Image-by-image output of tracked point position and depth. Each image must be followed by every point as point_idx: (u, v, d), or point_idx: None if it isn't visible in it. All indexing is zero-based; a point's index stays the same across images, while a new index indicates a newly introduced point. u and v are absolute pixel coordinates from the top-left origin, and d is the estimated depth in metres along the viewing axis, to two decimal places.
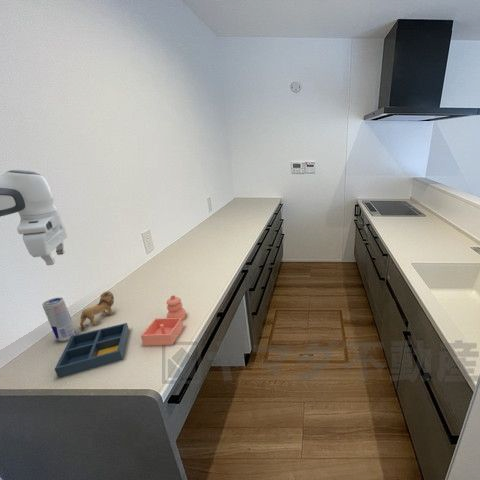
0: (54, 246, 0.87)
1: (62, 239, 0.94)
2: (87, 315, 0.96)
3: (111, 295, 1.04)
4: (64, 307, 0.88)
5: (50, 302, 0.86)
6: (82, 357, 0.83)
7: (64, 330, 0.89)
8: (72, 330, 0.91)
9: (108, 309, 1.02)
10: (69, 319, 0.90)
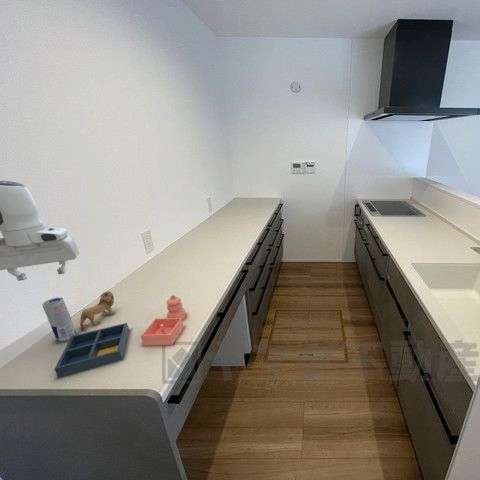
0: None
1: None
2: (87, 315, 0.96)
3: (111, 295, 1.04)
4: (64, 307, 0.88)
5: (50, 302, 0.86)
6: (82, 357, 0.83)
7: (64, 330, 0.89)
8: (72, 330, 0.91)
9: (108, 309, 1.02)
10: (69, 319, 0.90)
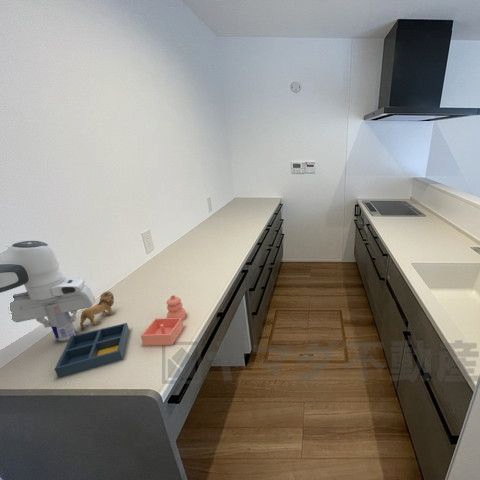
0: None
1: None
2: (87, 315, 0.96)
3: (111, 295, 1.04)
4: None
5: None
6: (82, 357, 0.83)
7: (64, 330, 0.89)
8: (72, 330, 0.91)
9: (108, 309, 1.02)
10: None
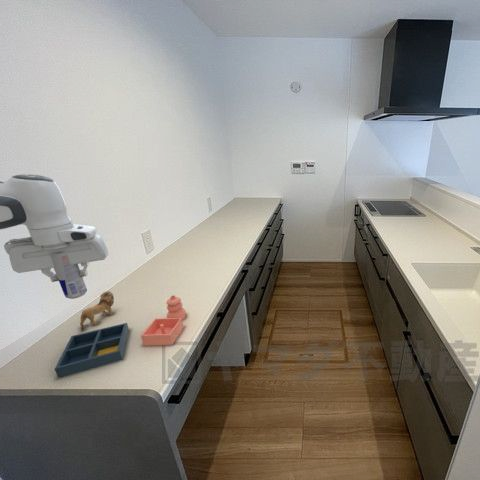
0: None
1: None
2: (87, 315, 0.96)
3: (111, 295, 1.04)
4: None
5: None
6: (82, 357, 0.83)
7: (73, 286, 0.77)
8: (83, 286, 0.79)
9: (108, 309, 1.02)
10: None
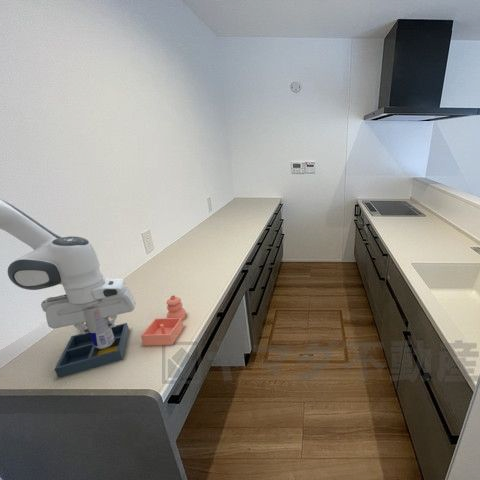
0: None
1: None
2: None
3: None
4: None
5: None
6: (82, 357, 0.83)
7: (103, 337, 0.80)
8: (111, 337, 0.82)
9: None
10: None
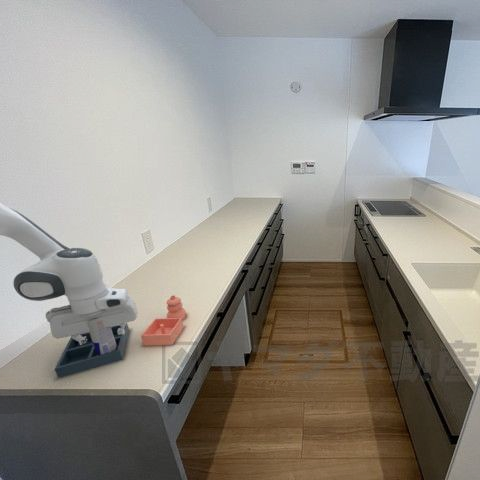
0: None
1: None
2: None
3: None
4: None
5: None
6: (82, 357, 0.83)
7: (106, 347, 0.81)
8: (114, 346, 0.84)
9: None
10: (111, 334, 0.83)
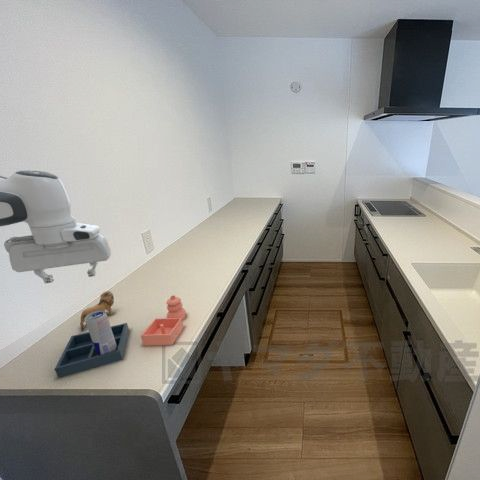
0: None
1: None
2: None
3: (111, 295, 1.04)
4: (107, 321, 0.81)
5: (93, 316, 0.79)
6: (82, 357, 0.83)
7: (106, 347, 0.81)
8: (114, 346, 0.84)
9: (108, 309, 1.02)
10: (111, 334, 0.83)
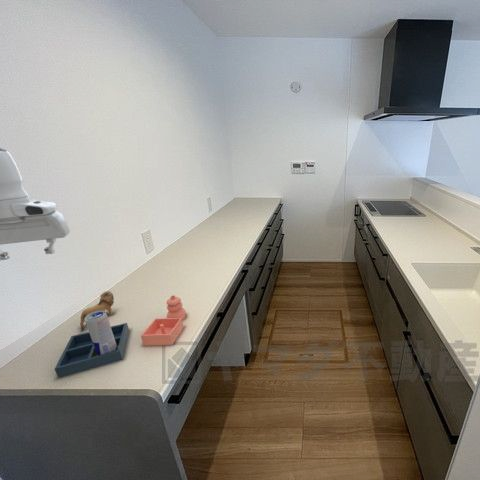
0: None
1: None
2: None
3: (111, 295, 1.04)
4: (107, 321, 0.81)
5: (93, 316, 0.79)
6: (82, 357, 0.83)
7: (106, 347, 0.81)
8: (114, 346, 0.84)
9: (108, 309, 1.02)
10: (111, 334, 0.83)
